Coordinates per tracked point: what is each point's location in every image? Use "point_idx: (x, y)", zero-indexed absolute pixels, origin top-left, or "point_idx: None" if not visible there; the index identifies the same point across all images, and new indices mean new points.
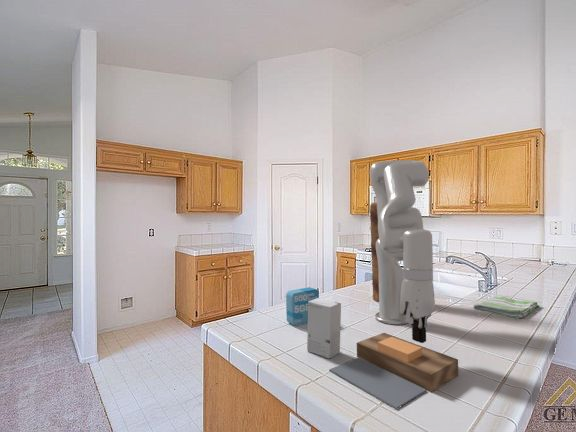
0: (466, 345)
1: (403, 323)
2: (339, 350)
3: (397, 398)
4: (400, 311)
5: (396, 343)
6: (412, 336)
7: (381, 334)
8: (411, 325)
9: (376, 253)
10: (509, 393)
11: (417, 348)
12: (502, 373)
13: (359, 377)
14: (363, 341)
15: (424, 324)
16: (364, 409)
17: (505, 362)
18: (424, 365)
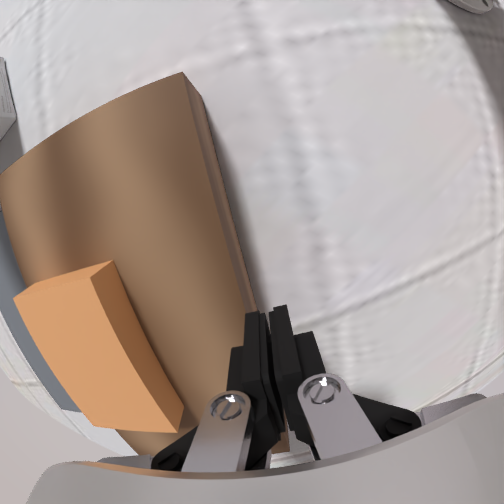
0: (497, 269)
1: (453, 2)
2: (8, 122)
3: (69, 399)
4: (35, 489)
5: (81, 356)
6: (245, 323)
7: (143, 96)
8: (210, 406)
9: None
10: (312, 461)
11: (152, 428)
12: None
13: (12, 304)
14: (16, 172)
15: (310, 448)
16: (20, 376)
17: (454, 380)
18: (147, 435)
